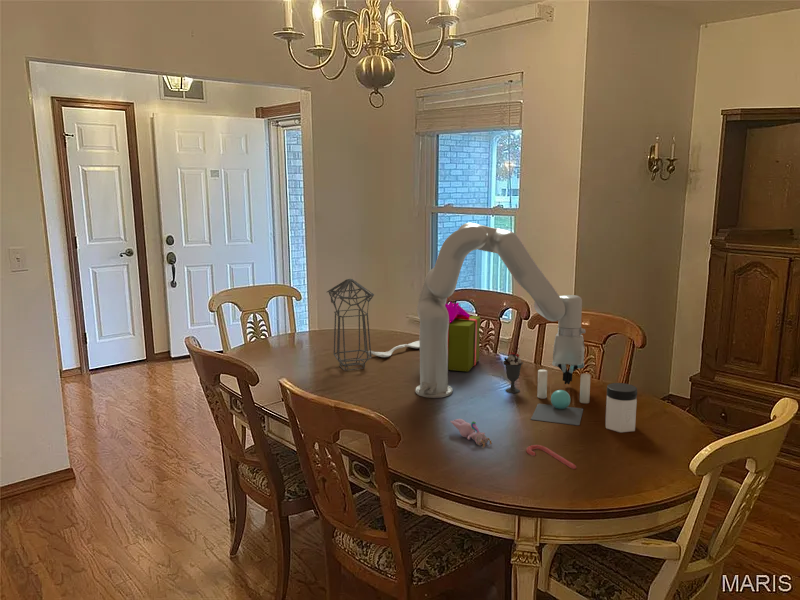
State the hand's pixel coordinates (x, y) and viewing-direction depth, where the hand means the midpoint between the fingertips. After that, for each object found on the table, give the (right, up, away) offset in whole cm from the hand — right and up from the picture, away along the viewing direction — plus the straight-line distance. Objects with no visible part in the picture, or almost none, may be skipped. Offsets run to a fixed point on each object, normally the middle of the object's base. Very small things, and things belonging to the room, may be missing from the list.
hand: (567, 382), depth 209 cm
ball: (-8, -2, -20) cm, 22 cm away
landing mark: (-10, -6, -24) cm, 27 cm away
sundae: (-19, -3, -3) cm, 20 cm away
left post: (-11, -3, -9) cm, 15 cm away
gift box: (-37, +3, +28) cm, 47 cm away
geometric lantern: (-77, +2, +27) cm, 81 cm away
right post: (+2, -4, -14) cm, 15 cm away
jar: (+6, -8, -35) cm, 36 cm away
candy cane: (-19, -13, -54) cm, 58 cm away
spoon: (-57, +6, +48) cm, 75 cm away
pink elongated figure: (-39, -10, -41) cm, 57 cm away
